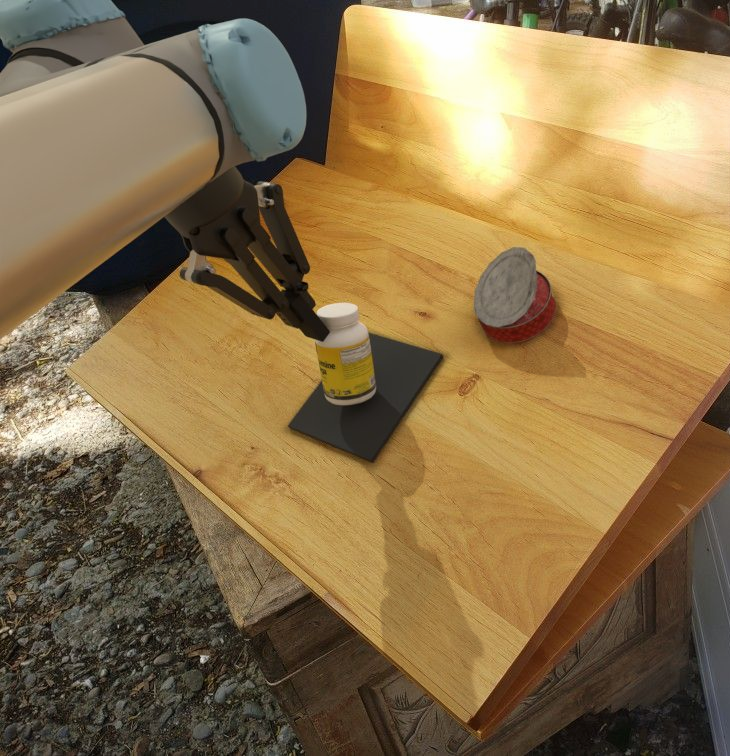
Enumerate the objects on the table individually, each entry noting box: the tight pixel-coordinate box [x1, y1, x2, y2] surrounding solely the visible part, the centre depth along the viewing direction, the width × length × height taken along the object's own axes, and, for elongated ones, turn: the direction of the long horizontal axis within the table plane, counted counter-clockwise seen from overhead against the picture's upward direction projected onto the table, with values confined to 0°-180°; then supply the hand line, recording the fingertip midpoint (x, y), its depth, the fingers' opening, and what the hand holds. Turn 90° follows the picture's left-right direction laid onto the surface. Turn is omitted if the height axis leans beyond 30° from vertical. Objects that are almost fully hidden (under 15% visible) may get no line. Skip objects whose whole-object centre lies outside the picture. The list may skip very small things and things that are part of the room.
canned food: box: [473, 246, 557, 344], centre depth 83 cm, size 11×10×10 cm
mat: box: [287, 332, 444, 463], centre depth 85 cm, size 16×14×1 cm
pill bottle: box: [314, 302, 376, 405], centre depth 80 cm, size 6×6×11 cm
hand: (318, 334), depth 76 cm, fingers closed
